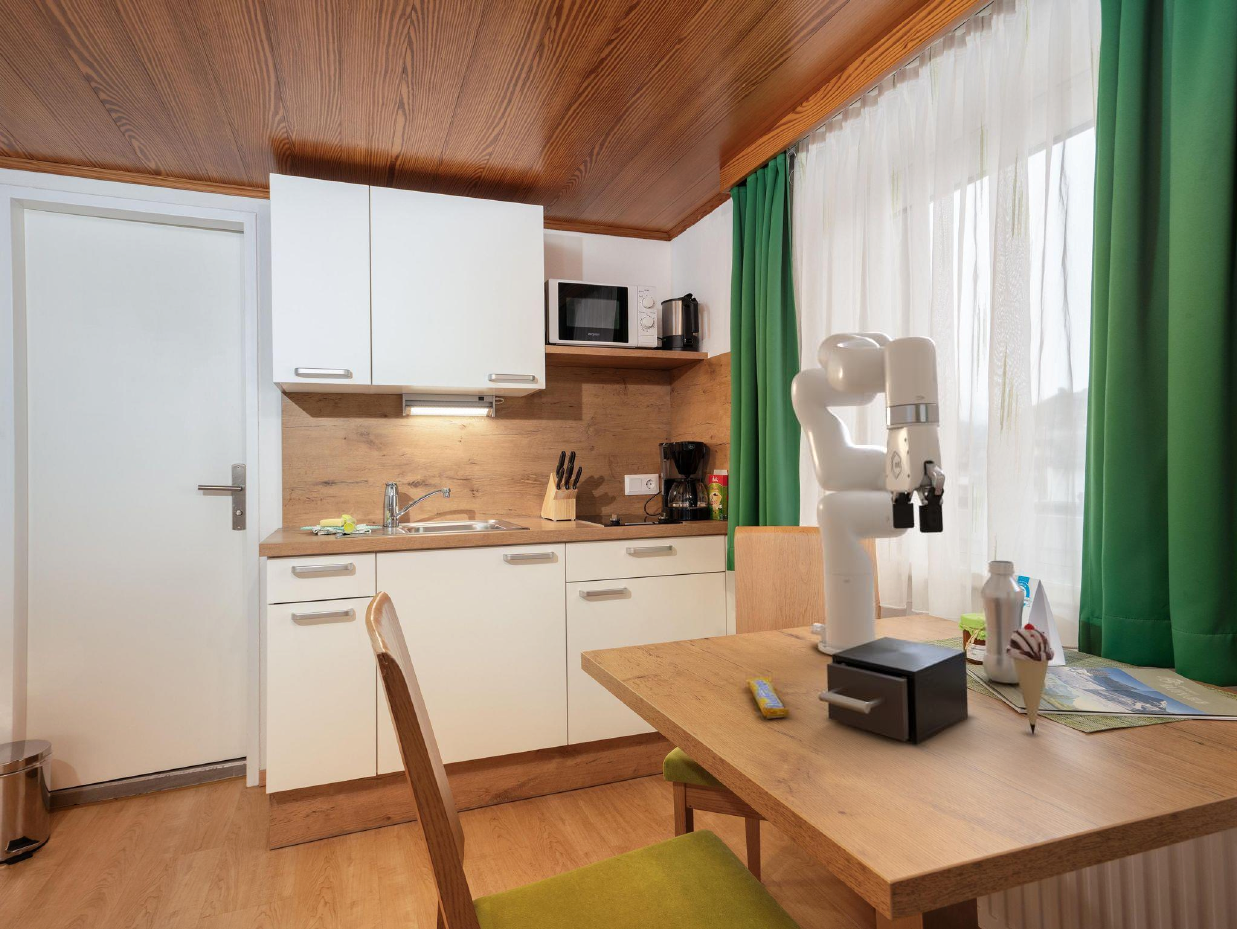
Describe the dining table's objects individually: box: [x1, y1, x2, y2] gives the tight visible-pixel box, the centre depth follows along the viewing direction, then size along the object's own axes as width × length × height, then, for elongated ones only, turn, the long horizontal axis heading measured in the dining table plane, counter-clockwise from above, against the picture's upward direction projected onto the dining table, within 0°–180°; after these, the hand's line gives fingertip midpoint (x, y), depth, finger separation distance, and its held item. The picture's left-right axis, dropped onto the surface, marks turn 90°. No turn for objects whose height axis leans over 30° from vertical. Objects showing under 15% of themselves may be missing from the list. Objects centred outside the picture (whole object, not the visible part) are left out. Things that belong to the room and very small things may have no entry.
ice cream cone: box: [1006, 623, 1055, 735], centre depth 95 cm, size 6×6×15 cm
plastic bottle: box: [980, 560, 1025, 684], centre depth 117 cm, size 6×7×20 cm
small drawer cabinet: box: [831, 636, 969, 745], centre depth 102 cm, size 15×13×10 cm
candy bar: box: [745, 676, 790, 720], centre depth 111 cm, size 17×4×2 cm, turn 178°
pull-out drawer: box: [818, 662, 911, 742], centre depth 98 cm, size 19×11×8 cm, turn 129°
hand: (917, 530), depth 107 cm, fingers open, 9 cm apart
